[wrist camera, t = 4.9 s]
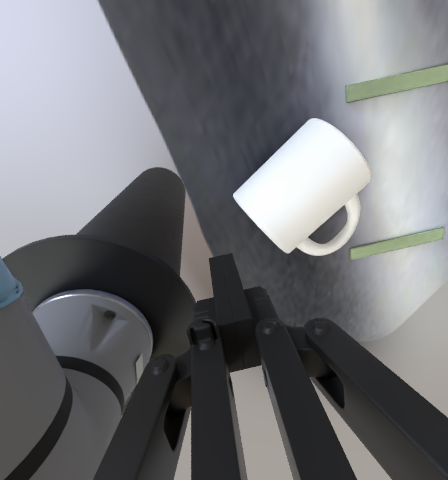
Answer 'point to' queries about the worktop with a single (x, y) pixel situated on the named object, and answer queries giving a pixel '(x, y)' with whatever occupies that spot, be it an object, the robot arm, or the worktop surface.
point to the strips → (387, 87)
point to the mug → (307, 188)
